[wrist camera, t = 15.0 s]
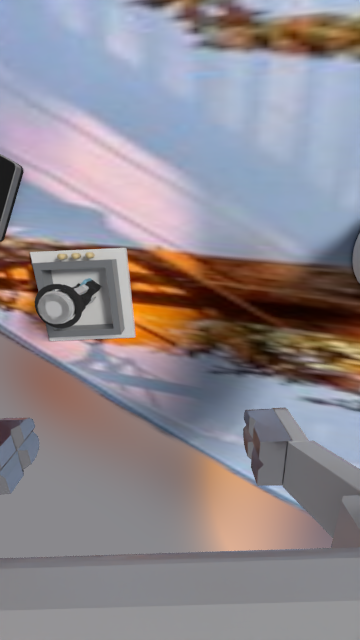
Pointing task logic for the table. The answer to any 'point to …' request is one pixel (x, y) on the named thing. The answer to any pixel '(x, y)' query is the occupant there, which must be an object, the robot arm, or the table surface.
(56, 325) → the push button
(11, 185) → the external hard drive
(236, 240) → the table surface
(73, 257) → the dock
